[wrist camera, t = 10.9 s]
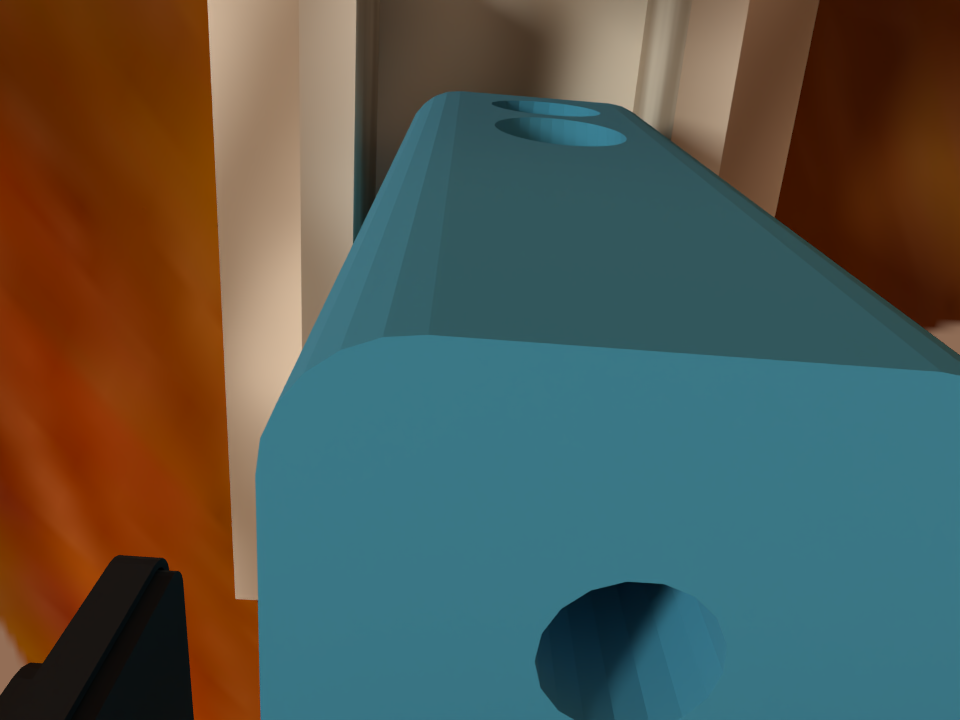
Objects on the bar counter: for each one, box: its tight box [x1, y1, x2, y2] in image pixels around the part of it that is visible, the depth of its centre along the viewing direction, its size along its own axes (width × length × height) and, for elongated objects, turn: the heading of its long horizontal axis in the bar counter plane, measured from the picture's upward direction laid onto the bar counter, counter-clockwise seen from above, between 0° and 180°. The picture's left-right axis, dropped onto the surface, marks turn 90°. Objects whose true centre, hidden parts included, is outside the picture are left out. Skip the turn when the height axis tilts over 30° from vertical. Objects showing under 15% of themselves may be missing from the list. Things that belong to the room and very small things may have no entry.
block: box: [255, 91, 960, 720], centre depth 17 cm, size 12×5×20 cm, turn 175°
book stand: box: [208, 0, 819, 600], centre depth 20 cm, size 16×24×16 cm, turn 176°
